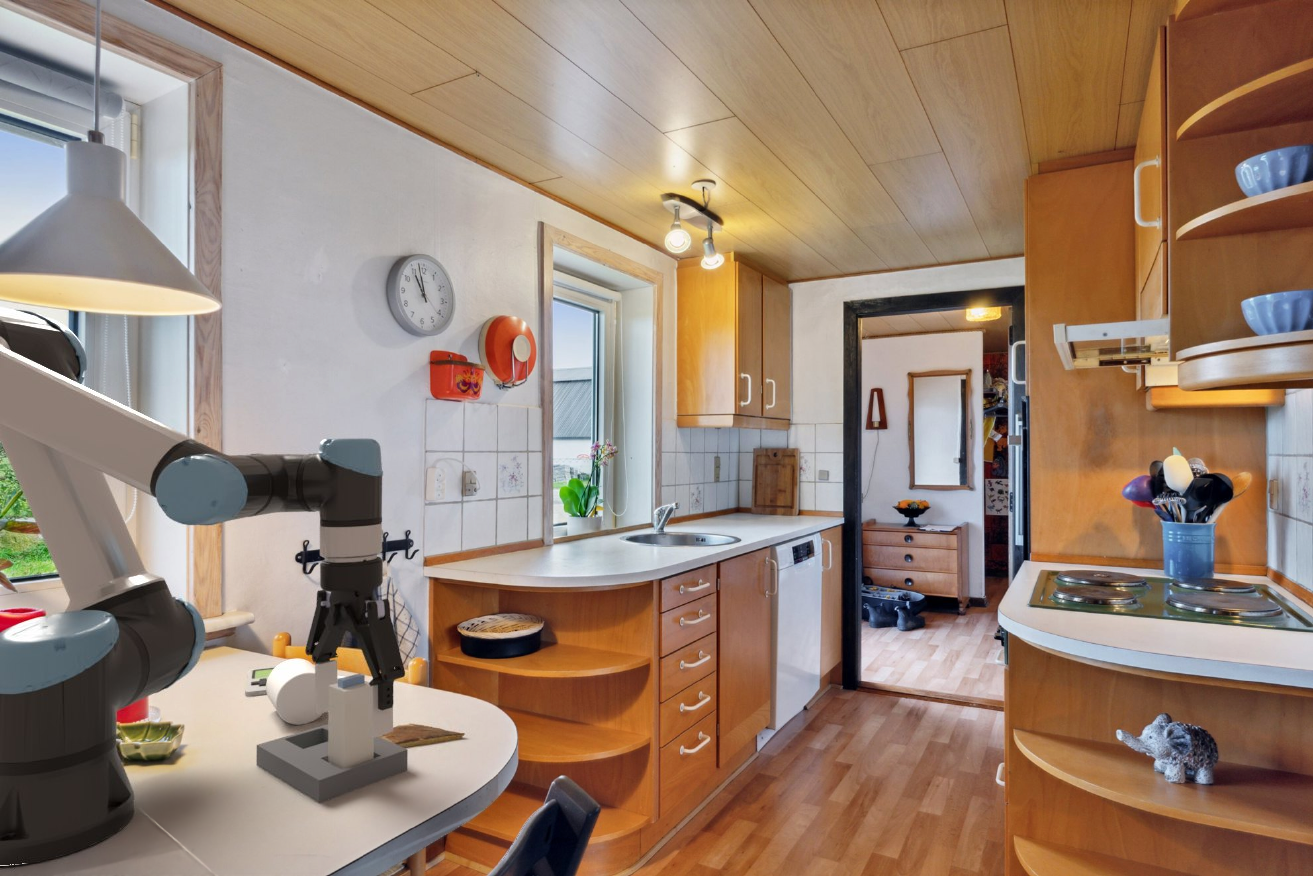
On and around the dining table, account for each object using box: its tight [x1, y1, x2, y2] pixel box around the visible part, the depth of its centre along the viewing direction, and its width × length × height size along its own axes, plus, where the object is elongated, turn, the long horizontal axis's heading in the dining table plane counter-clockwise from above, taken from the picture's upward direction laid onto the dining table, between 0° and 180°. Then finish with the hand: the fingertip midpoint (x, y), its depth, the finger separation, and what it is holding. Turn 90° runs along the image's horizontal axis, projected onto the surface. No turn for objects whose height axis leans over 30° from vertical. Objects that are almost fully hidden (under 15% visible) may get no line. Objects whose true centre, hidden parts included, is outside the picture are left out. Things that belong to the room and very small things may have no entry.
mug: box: [266, 658, 345, 726], centre depth 124 cm, size 12×10×8 cm
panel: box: [256, 723, 408, 804], centre depth 102 cm, size 12×17×3 cm
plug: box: [327, 673, 374, 769], centre depth 99 cm, size 4×4×13 cm
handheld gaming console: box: [244, 665, 277, 698], centre depth 140 cm, size 10×2×15 cm
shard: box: [378, 723, 466, 748], centre depth 111 cm, size 11×8×2 cm
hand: (352, 722), depth 99 cm, fingers open, 13 cm apart
